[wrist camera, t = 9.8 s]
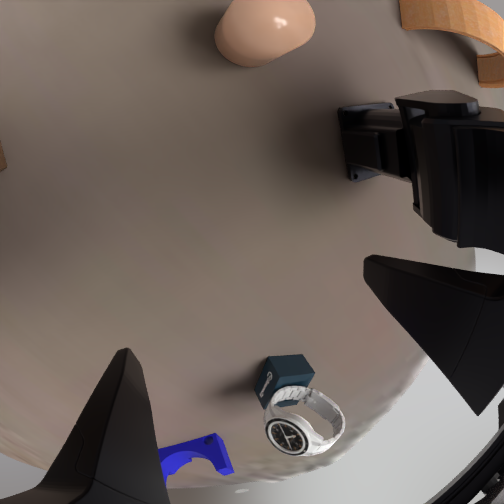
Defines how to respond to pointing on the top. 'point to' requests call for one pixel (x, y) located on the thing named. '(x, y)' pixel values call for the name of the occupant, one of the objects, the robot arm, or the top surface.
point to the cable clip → (195, 455)
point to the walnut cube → (2, 159)
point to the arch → (462, 29)
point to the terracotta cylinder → (263, 30)
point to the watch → (289, 393)
